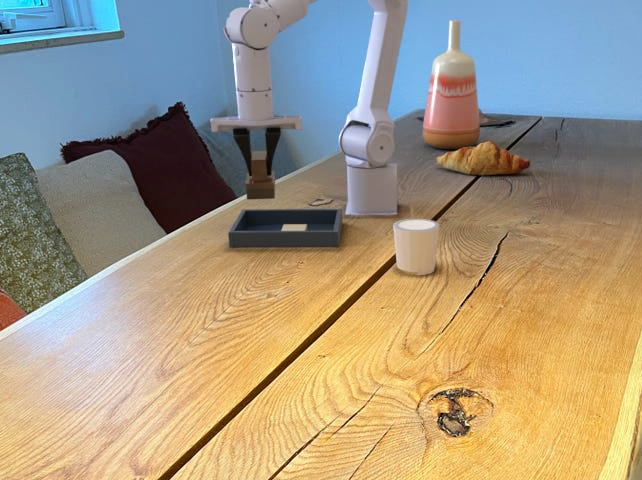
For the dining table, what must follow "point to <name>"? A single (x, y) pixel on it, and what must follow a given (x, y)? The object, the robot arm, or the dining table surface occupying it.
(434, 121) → the vase
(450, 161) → the croissant
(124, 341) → the dining table surface
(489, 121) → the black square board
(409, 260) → the shot glass
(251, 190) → the stepped wooden pedestal
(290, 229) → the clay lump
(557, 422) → the dining table surface
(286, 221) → the tray
